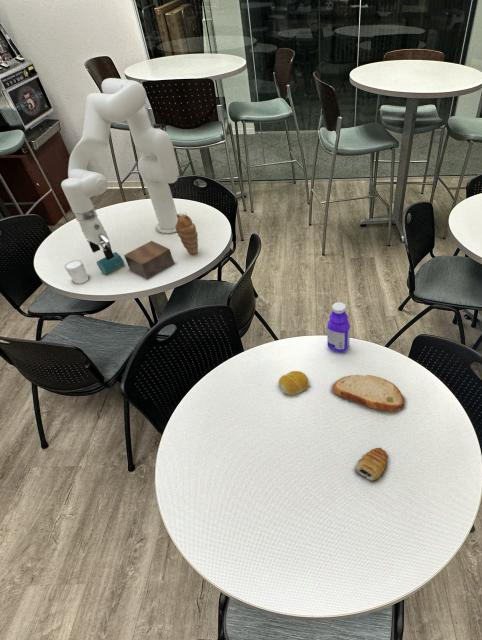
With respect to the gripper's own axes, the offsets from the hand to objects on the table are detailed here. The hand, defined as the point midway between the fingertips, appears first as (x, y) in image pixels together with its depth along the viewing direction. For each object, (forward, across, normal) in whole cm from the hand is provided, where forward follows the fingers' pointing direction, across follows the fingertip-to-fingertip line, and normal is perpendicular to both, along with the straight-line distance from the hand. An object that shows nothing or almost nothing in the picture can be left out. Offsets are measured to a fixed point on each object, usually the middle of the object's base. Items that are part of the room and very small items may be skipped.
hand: (103, 254), depth 172 cm
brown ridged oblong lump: (+7, -19, -29) cm, 36 cm away
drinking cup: (+7, 0, -1) cm, 8 cm away
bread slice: (+8, -125, -5) cm, 126 cm away
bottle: (+8, -106, -17) cm, 107 cm away
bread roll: (+8, -104, +5) cm, 105 cm away
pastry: (+8, -139, +15) cm, 140 cm away
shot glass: (+8, +5, +11) cm, 14 cm away
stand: (+7, -12, -12) cm, 19 cm away
